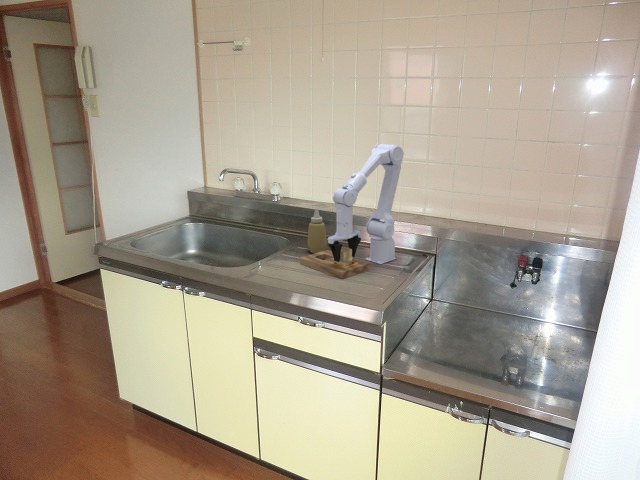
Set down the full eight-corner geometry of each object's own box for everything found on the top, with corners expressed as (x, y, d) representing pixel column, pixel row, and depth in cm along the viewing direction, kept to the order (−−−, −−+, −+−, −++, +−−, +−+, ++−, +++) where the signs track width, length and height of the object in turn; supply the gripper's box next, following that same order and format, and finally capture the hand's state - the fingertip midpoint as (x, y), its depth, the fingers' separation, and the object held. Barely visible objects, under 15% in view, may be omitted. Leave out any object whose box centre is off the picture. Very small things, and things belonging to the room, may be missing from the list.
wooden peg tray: (327, 255, 189) (327, 249, 188) (369, 269, 173) (369, 262, 172) (300, 263, 180) (299, 256, 180) (342, 279, 164) (342, 271, 163)
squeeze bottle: (304, 253, 193) (303, 210, 188) (312, 248, 200) (311, 206, 195) (322, 255, 190) (322, 211, 185) (330, 249, 197) (329, 207, 192)
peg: (344, 267, 176) (344, 246, 173) (351, 270, 173) (351, 249, 170) (336, 270, 173) (336, 249, 171) (344, 272, 170) (344, 251, 168)
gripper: (350, 217, 175) (350, 252, 179) (321, 223, 166) (322, 260, 170) (364, 220, 170) (364, 256, 174) (335, 227, 161) (335, 265, 165)
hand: (344, 258), depth 171 cm, fingers open, 7 cm apart
